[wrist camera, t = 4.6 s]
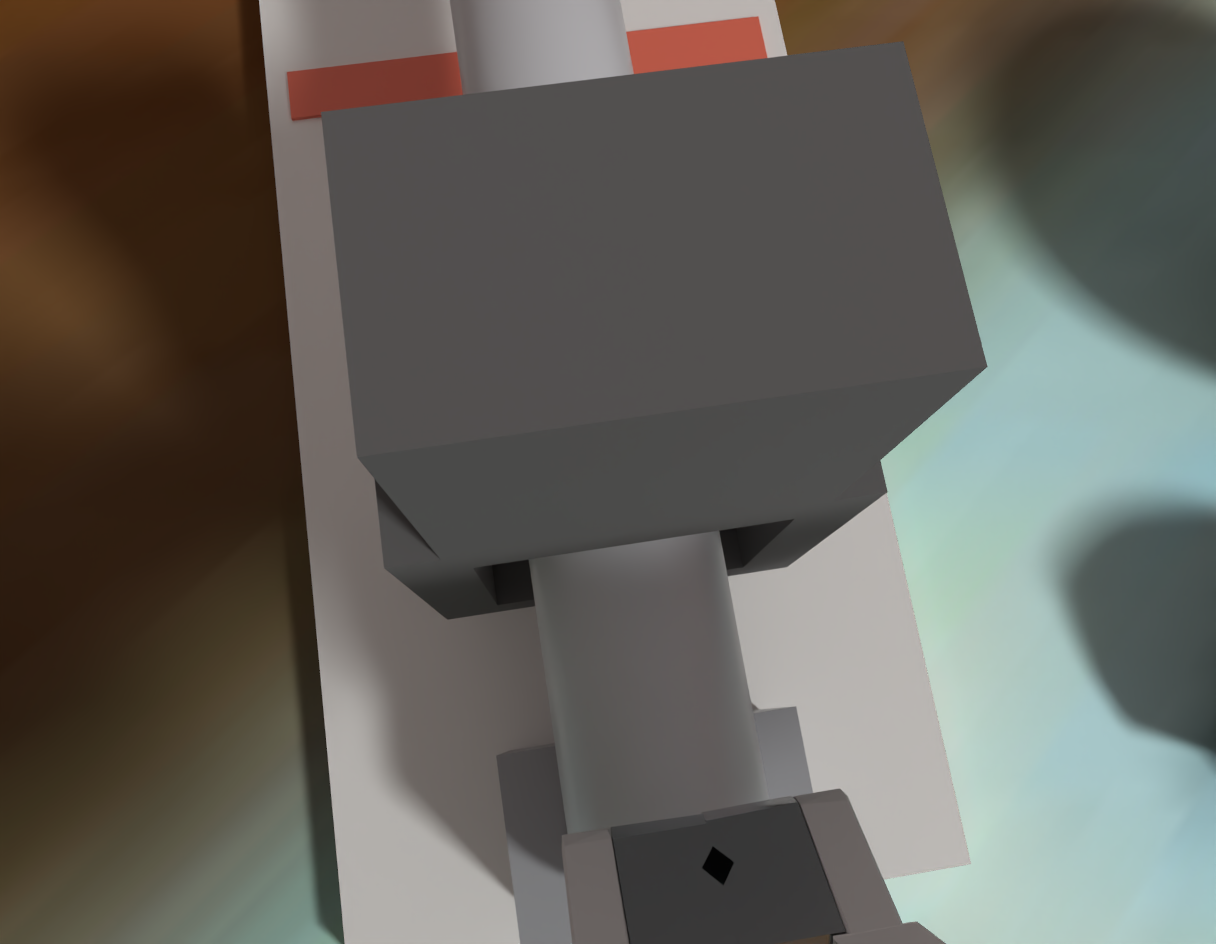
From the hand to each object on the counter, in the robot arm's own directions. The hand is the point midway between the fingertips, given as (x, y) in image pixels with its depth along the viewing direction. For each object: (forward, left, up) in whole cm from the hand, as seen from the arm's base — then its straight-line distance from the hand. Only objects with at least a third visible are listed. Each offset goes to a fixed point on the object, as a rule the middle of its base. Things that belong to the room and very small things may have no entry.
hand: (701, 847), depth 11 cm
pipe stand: (0, +11, -10) cm, 15 cm away
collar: (0, +5, -8) cm, 9 cm away
